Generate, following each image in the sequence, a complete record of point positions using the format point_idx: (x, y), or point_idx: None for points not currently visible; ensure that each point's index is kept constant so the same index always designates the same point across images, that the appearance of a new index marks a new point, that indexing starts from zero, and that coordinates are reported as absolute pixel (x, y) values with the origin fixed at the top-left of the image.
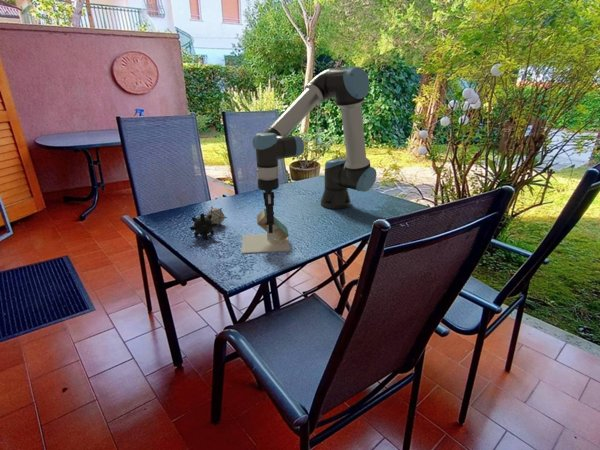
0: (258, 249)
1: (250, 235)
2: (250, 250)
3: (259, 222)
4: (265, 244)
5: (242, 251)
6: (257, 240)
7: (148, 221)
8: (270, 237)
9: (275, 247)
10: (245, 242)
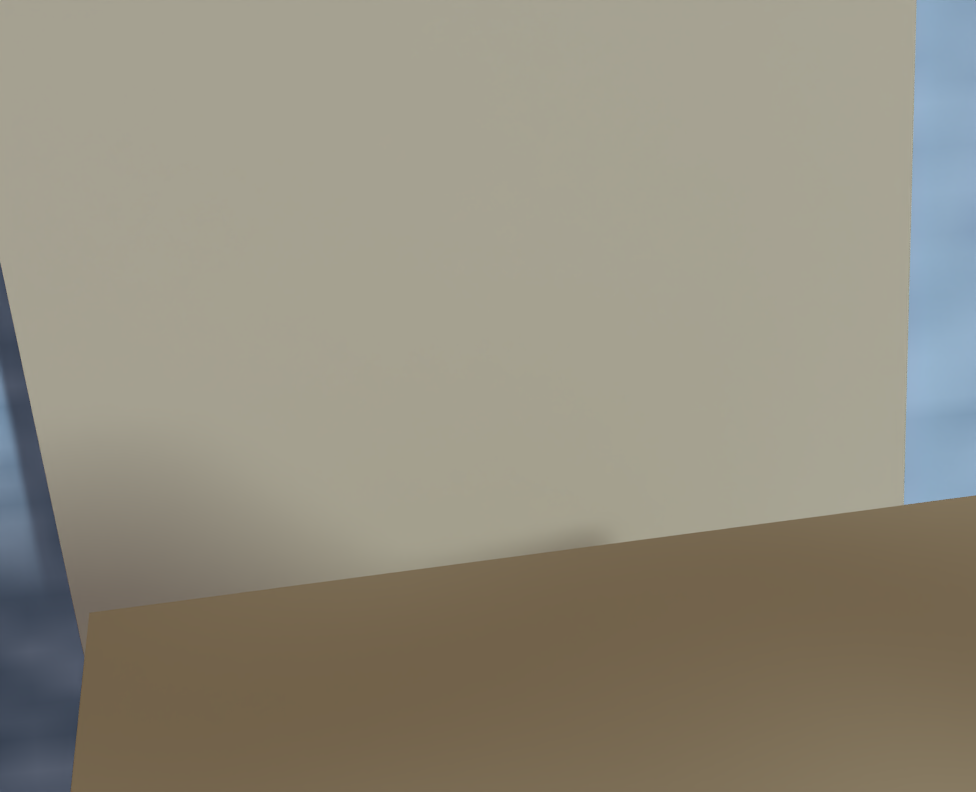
0: (129, 380)
1: (865, 131)
2: (70, 208)
3: (97, 764)
4: (380, 498)
5: (7, 21)
6: (586, 314)
7: None
8: None
9: None
10: (499, 47)
